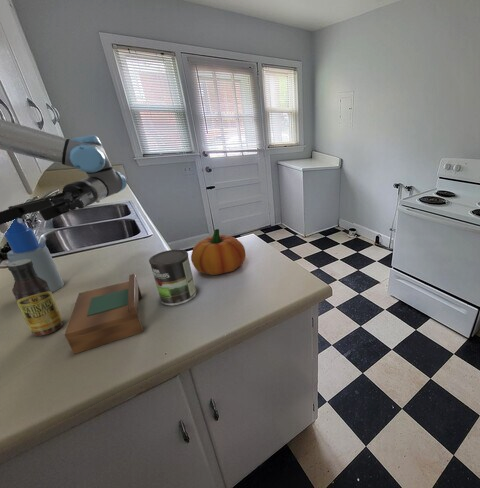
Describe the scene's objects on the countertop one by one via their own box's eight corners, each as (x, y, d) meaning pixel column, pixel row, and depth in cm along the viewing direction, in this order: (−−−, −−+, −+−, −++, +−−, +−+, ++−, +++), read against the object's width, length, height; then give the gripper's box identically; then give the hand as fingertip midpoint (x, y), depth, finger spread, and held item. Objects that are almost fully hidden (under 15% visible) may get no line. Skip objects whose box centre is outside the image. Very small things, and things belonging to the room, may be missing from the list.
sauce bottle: (33, 341, 68) (-5, 272, 60) (32, 329, 72) (-5, 263, 64) (68, 328, 72) (36, 262, 64) (64, 317, 76) (34, 254, 68)
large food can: (177, 309, 80) (166, 267, 74) (153, 301, 83) (140, 261, 78) (204, 290, 89) (195, 252, 83) (180, 284, 92) (170, 247, 86)
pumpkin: (182, 274, 98) (172, 236, 92) (216, 253, 115) (210, 219, 109) (226, 283, 93) (219, 243, 87) (256, 259, 109) (252, 224, 103)
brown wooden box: (74, 354, 64) (60, 327, 61) (86, 310, 79) (76, 287, 76) (143, 331, 71) (134, 307, 68) (142, 295, 86) (135, 273, 83)
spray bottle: (70, 280, 95) (39, 212, 85) (51, 295, 87) (15, 221, 77) (41, 282, 93) (6, 213, 83) (19, 297, 85) (-22, 223, 75)
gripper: (127, 199, 87) (73, 227, 68) (54, 207, 88) (-19, 236, 69) (116, 176, 83) (55, 198, 64) (41, 185, 84) (-41, 209, 66)
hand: (17, 218), depth 67 cm, fingers open, 13 cm apart
